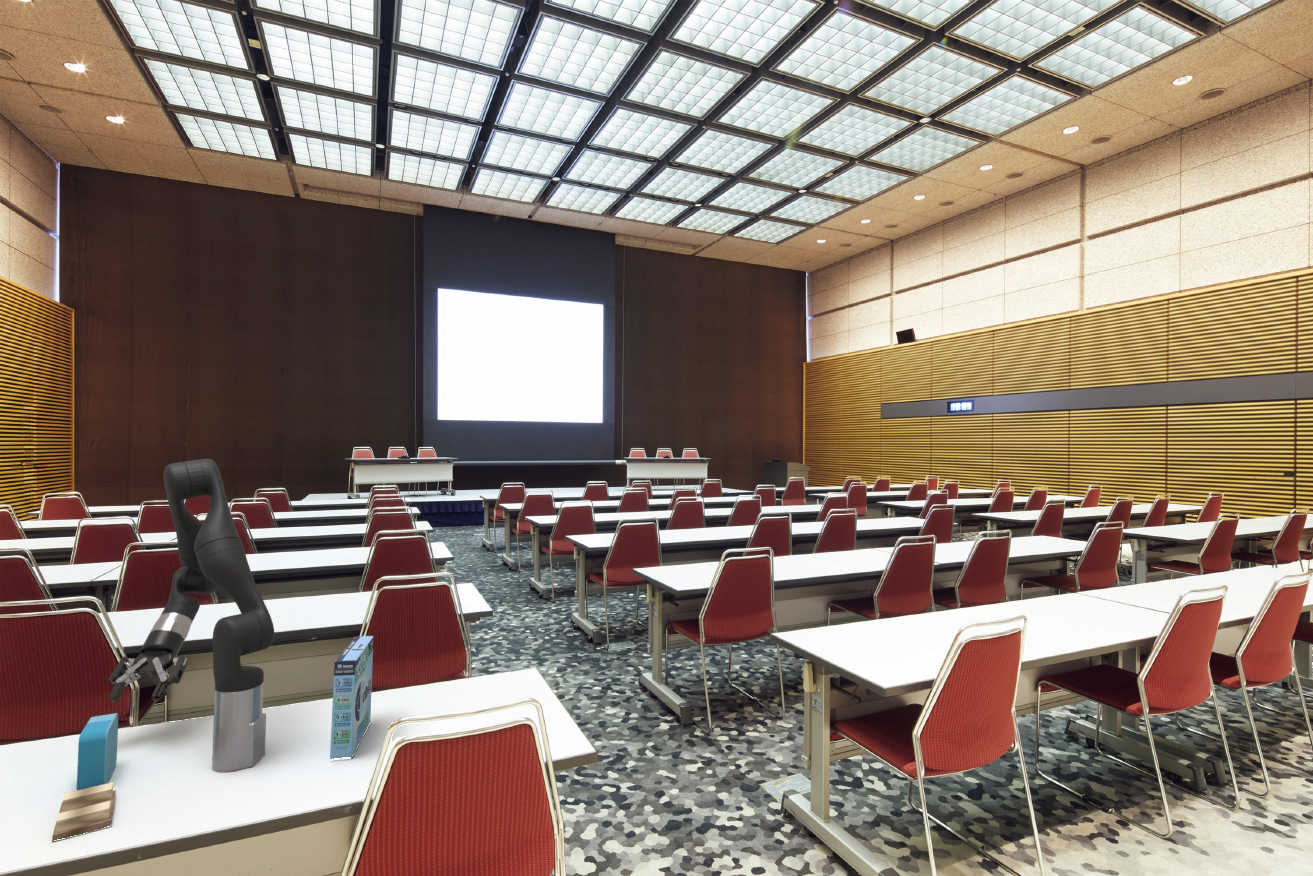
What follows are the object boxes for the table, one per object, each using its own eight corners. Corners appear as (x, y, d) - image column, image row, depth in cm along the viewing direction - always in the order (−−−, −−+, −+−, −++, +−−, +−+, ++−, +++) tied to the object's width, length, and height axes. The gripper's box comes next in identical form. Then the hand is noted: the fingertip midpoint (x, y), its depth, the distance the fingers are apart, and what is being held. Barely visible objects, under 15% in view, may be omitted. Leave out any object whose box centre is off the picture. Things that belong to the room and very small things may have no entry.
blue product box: (350, 725, 162) (353, 636, 163) (372, 724, 163) (374, 635, 164) (329, 762, 143) (332, 660, 144) (353, 760, 144) (356, 659, 145)
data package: (89, 770, 138) (92, 714, 138) (116, 765, 140) (118, 710, 140) (75, 796, 127) (78, 736, 128) (105, 790, 130) (107, 731, 130)
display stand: (115, 796, 128) (116, 780, 128) (111, 826, 117) (112, 809, 117) (61, 809, 123) (62, 792, 123) (52, 842, 112) (52, 824, 112)
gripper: (129, 628, 153) (91, 694, 141) (193, 627, 155) (161, 692, 143) (142, 644, 158) (107, 708, 146) (204, 643, 160) (174, 706, 148)
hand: (134, 700), depth 145 cm, fingers open, 8 cm apart
